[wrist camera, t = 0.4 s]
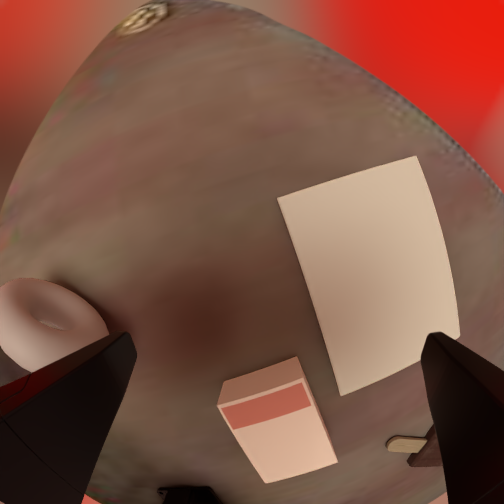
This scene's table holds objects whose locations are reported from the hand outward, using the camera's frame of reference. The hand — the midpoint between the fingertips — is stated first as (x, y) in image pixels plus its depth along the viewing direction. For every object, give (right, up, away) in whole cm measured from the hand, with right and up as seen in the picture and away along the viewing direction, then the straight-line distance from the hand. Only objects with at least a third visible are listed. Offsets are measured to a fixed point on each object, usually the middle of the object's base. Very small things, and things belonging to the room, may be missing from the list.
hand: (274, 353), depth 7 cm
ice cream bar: (+19, -18, +13) cm, 29 cm away
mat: (+9, +1, +12) cm, 15 cm away
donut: (-15, -2, +13) cm, 20 cm away
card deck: (+2, -10, +13) cm, 17 cm away
